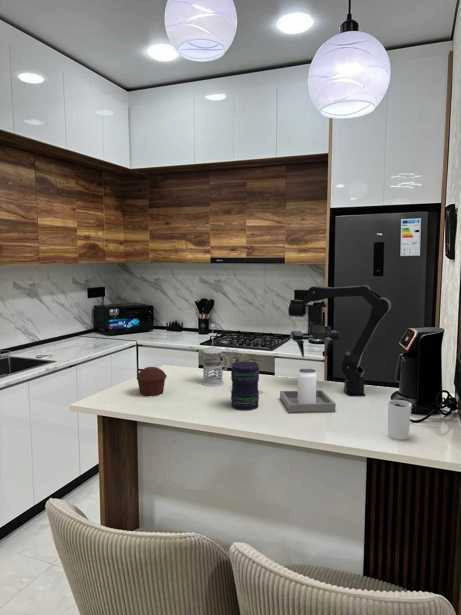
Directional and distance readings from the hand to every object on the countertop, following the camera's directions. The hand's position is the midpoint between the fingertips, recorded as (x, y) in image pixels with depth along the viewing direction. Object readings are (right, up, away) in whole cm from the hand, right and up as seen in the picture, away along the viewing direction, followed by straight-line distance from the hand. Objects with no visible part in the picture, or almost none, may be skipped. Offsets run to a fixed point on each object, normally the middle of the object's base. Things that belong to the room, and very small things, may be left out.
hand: (314, 356), depth 184 cm
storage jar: (-28, -16, -20) cm, 38 cm away
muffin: (-64, -14, -5) cm, 65 cm away
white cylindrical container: (+16, -19, -47) cm, 53 cm away
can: (-6, -15, -19) cm, 25 cm away
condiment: (-26, -14, -3) cm, 29 cm away
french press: (-40, -12, +9) cm, 43 cm away
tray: (-6, -15, -19) cm, 25 cm away
